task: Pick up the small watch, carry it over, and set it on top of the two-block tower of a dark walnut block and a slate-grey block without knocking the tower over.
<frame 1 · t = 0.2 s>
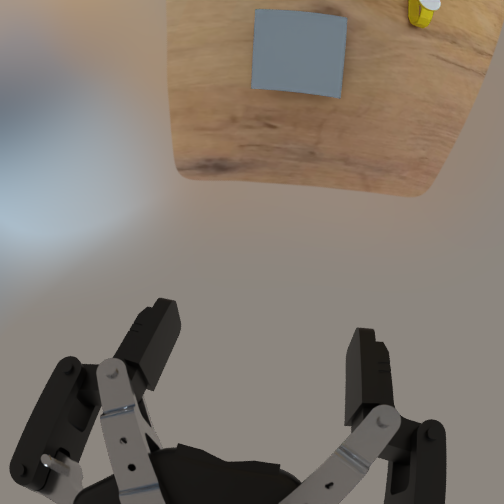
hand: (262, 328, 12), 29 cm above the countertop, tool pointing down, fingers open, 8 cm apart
watch: (412, 9, 21), on the countertop
grey block: (300, 54, 25), point 5 cm above the countertop, touching walnut block
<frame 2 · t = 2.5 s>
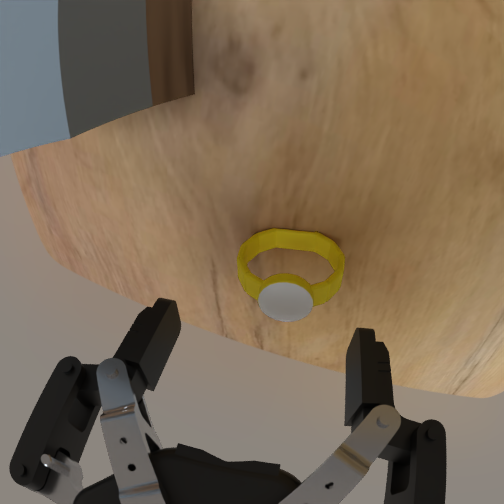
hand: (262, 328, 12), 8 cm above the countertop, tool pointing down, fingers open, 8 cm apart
watch: (295, 237, 19), on the countertop
walnut block: (133, 41, 13), on the countertop, touching grey block
grey block: (78, 45, 9), point 5 cm above the countertop, touching walnut block
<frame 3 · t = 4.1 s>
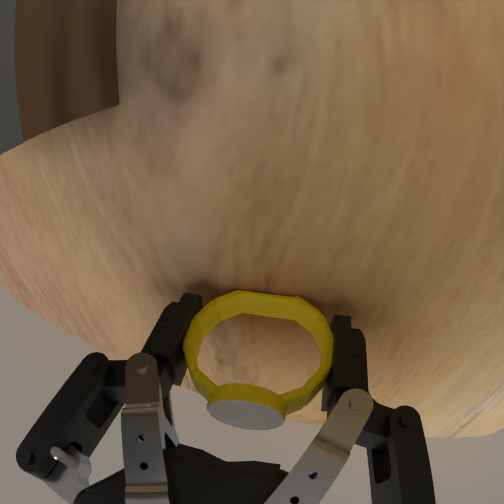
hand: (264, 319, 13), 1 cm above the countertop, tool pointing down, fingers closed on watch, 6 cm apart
watch: (269, 300, 14), on the countertop, touching gripper
walnut block: (51, 39, 8), on the countertop, touching grey block
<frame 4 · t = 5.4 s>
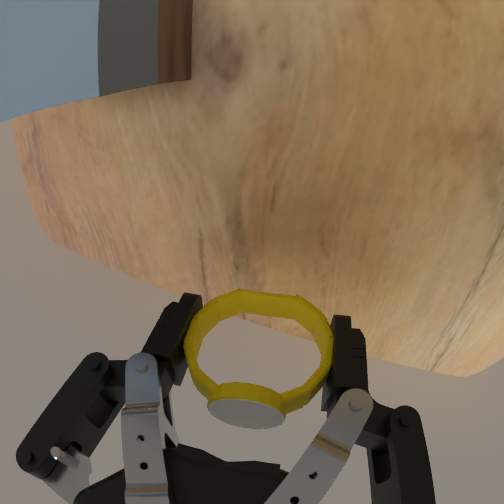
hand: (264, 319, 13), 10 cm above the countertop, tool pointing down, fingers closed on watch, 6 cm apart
watch: (270, 299, 14), point 9 cm above the countertop, touching gripper
walnut block: (139, 33, 15), on the countertop, touching grey block
grey block: (96, 29, 11), point 5 cm above the countertop, touching walnut block
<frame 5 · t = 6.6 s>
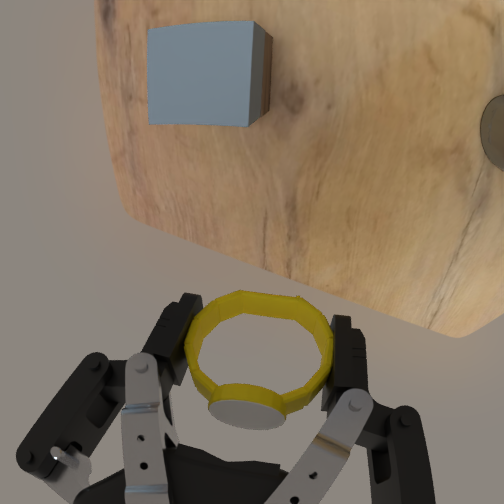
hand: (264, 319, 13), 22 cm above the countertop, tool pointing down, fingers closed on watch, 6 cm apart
watch: (270, 300, 14), point 20 cm above the countertop, touching gripper
walnut block: (232, 72, 26), on the countertop, touching grey block
grey block: (216, 72, 22), point 5 cm above the countertop, touching walnut block
when the fingers open (12 cm above the countertop, at t = 9.3 s): watch drops 1 cm, resting on grey block.
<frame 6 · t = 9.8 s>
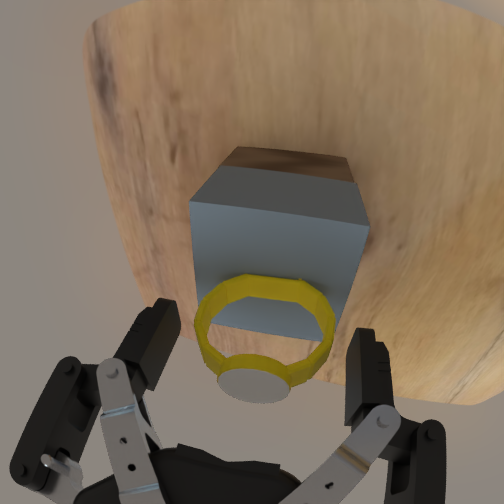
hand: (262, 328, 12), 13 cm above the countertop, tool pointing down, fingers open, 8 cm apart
watch: (274, 283, 15), point 10 cm above the countertop, touching grey block
walnut block: (287, 199, 23), on the countertop, touching grey block
grey block: (281, 231, 19), point 5 cm above the countertop, touching watch, walnut block
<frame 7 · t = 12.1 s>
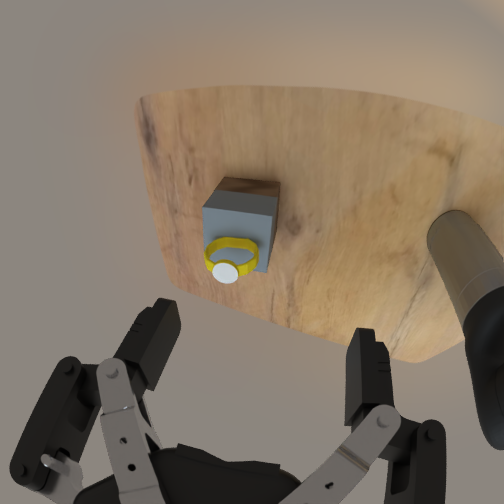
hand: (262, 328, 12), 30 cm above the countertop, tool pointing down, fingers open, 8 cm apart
watch: (237, 241, 35), point 10 cm above the countertop, touching grey block
walnut block: (251, 204, 43), on the countertop, touching grey block
grey block: (244, 220, 39), point 5 cm above the countertop, touching watch, walnut block
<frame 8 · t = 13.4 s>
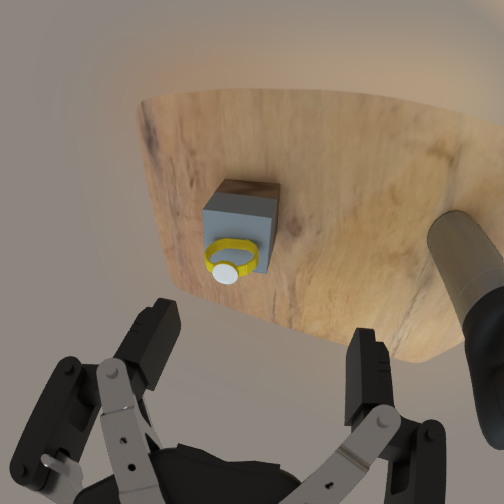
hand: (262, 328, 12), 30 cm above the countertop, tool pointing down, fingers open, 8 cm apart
watch: (237, 242, 35), point 10 cm above the countertop, touching grey block
walnut block: (251, 206, 43), on the countertop, touching grey block
grey block: (244, 222, 39), point 5 cm above the countertop, touching watch, walnut block
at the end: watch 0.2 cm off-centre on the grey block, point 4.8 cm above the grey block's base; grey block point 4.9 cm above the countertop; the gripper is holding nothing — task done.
